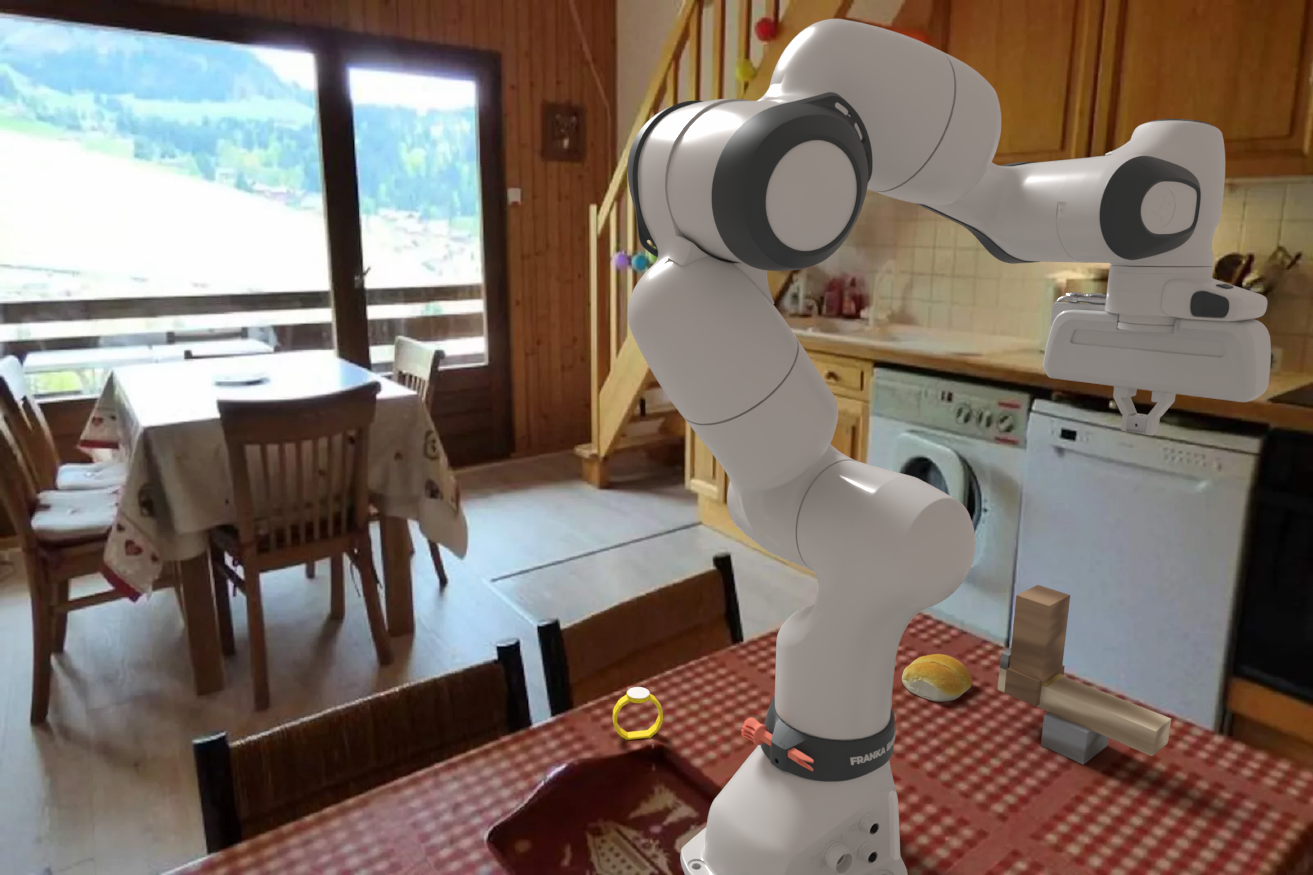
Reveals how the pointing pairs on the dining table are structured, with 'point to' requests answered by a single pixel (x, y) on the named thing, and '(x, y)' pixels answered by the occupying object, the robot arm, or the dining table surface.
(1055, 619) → the plate
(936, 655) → the bread roll
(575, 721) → the dining table surface
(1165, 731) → the seesaw
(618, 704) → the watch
